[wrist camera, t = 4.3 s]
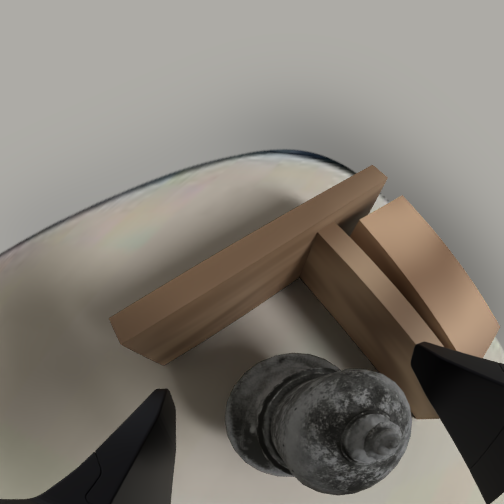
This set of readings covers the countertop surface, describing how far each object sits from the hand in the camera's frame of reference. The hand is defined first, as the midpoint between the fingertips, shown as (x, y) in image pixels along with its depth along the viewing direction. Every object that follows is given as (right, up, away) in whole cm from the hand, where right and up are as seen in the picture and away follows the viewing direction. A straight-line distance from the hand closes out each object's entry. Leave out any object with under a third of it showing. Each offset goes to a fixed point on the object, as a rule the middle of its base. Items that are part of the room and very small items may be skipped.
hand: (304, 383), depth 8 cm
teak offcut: (+8, +2, +5) cm, 10 cm away
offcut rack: (+3, -2, +6) cm, 7 cm away
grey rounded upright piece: (0, -5, +5) cm, 7 cm away
